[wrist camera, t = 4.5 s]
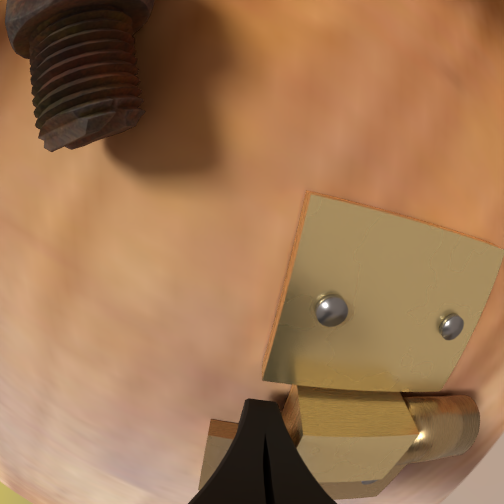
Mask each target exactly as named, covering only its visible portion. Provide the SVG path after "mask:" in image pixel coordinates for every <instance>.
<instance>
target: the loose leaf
mask: <svg viewBox="0 0 504 504" xmlns="http://www.w3.org/2000/svg"><path fill="white" fill-rule="evenodd" d="M503 256H504V249H502V248H501V247H499V246H497V245H495V244H493V243H490V242H487V241H484V240H482V239H479V238H476V237H473V236H470V235H467V234H464V233H461V232H458V231H454V230H451V229H448V228H445V227H442V226H439V225H435V224H432V223H429V222H425V221H422V220H419V219H415V218H412V217H408V216H405V215H401V214H398V213H394V212H391V211H387V210H383V209H380V208H376V207H372V206H368V205H365V204H361V203H357V202H353V201H349V200H345V199H341V198H337V197H333V196H328V195H324V194H320V193H316V192H311V191H307V190H306V194H305V199H304V203H303V207H302V212H301V216H300V220H299V224H298V229H297V233H296V237H295V241H294V245H293V249H292V254H291V258H290V262H289V266H288V270H287V274H286V278H285V282H284V286H283V289H282V293H281V297H280V301H279V305H278V309H277V313H276V316H275V320H274V324H273V328H272V331H271V335H270V339H269V342H268V346H267V350H266V353H265V357H264V360H263V364H262V380H263V381H270V382H277V383H285V384H292V387H291V390H290V392H289V395H288V398H287V400H286V403H285V405H284V408H283V410H282V413H281V416H282V418H283V421H284V423H285V426H286V428H287V430H288V433H289V435H290V437H291V439H292V441H293V443H294V445H295V447H296V449H297V451H298V452H299V454H300V456H301V458H302V459H303V461H304V463H305V464H306V466H307V467H308V469H309V470H310V472H311V473H312V475H313V476H314V478H315V479H316V480H317V482H354V481H369V480H380V479H383V478H384V477H385V476H386V474H387V473H388V472H389V471H390V470H391V469H392V468H393V466H394V465H395V464H396V463H397V462H398V461H399V459H400V458H401V457H402V456H403V455H404V453H405V452H406V451H407V450H408V449H409V447H410V446H411V445H412V443H413V442H414V441H415V440H416V438H417V437H418V436H419V431H418V429H417V427H416V425H415V423H414V421H413V419H412V417H411V414H410V412H409V410H408V408H407V406H406V404H405V402H404V400H403V398H402V396H401V394H400V392H438V391H441V389H442V388H443V386H444V384H445V383H446V381H447V379H448V378H449V376H450V374H451V373H452V371H453V369H454V367H455V365H456V364H457V362H458V360H459V358H460V356H461V354H462V353H463V351H464V349H465V347H466V345H467V343H468V341H469V339H470V337H471V335H472V333H473V331H474V329H475V327H476V324H477V322H478V320H479V318H480V316H481V313H482V311H483V309H484V307H485V304H486V302H487V299H488V297H489V294H490V292H491V289H492V287H493V284H494V282H495V279H496V276H497V274H498V271H499V268H500V265H501V262H502V259H503Z"/></svg>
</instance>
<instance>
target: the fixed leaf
mask: <svg viewBox="0 0 504 504" xmlns="http://www.w3.org/2000/svg"><path fill="white" fill-rule="evenodd" d="M402 398H403V400H404V402H405V404H406V406H407V408H408V410H409V412H410V414H411V417H412V419H413V421H414V423H415V425H416V427H417V429H418V431H419V436H418V437H417V438H416V440H415V441H414V442H413V443H412V445H411V446H410V447H409V449H408V450H407V451H406V452H405V453H404V455H403V456H402V457H401V458H400V459H399V461H398V462H397V463H396V464H395V465H394V466H393V468H392V469H391V470H390V471H389V472H388V473H387V474H386V476H385V477H384V478H383V479H380V480H369V481H354V482H318V483H319V484H320V485H321V487H322V488H323V489H324V490H325V492H326V493H327V494H328V495H329V496H330V497H331V498H332V499H333V500H336V499H353V498H364V497H374V496H377V495H378V494H379V493H380V492H381V491H382V490H383V489H384V488H385V487H386V486H387V485H388V484H389V483H390V482H391V481H392V480H393V479H394V478H395V477H396V476H397V475H398V474H399V472H400V471H401V470H402V469H403V468H404V467H405V466H406V465H407V464H411V463H418V462H425V461H431V460H437V459H442V458H448V457H453V456H457V455H461V454H463V453H465V452H466V451H467V450H468V449H469V448H470V447H471V446H472V445H473V443H474V442H475V440H476V437H477V435H478V431H479V426H480V415H479V410H478V407H477V405H476V403H475V402H474V400H473V399H472V398H470V397H469V396H466V395H455V396H432V397H402ZM238 425H239V424H236V423H230V422H224V421H218V420H213V419H211V421H210V426H209V432H208V437H207V443H206V449H205V454H204V460H203V465H202V471H201V476H200V482H199V488H198V490H201V489H202V487H203V486H204V485H205V484H206V482H207V481H208V480H209V478H210V477H211V476H212V474H213V473H214V472H215V470H216V469H217V467H218V466H219V464H220V463H221V461H222V459H223V458H224V456H225V454H226V453H227V451H228V449H229V447H230V445H231V443H232V441H233V439H234V437H235V435H236V433H237V429H238Z"/></svg>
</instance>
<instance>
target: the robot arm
mask: <svg viewBox="0 0 504 504" xmlns="http://www.w3.org/2000/svg"><path fill="white" fill-rule="evenodd" d="M188 504H337V503H336V502H335V501H334V500H333V499H332V498H331V497H330V496H329V495H328V494H327V493H326V492H325V490H324V489H323V488H322V487H321V485H320V484H319V483H318V482H317V480H316V479H315V478H314V476H313V475H312V473H311V472H310V470H309V469H308V467H307V466H306V464H305V463H304V461H303V459H302V458H301V456H300V454H299V452H298V451H297V449H296V447H295V445H294V443H293V441H292V439H291V437H290V435H289V433H288V430H287V428H286V426H285V423H284V421H283V418H282V416H281V413H280V410H279V407H278V404H277V403H276V402H271V401H263V400H256V399H246V400H245V403H244V407H243V410H242V414H241V418H240V421H239V425H238V429H237V433H236V435H235V437H234V439H233V441H232V443H231V445H230V447H229V449H228V451H227V453H226V454H225V456H224V458H223V459H222V461H221V463H220V464H219V466H218V467H217V469H216V470H215V472H214V473H213V474H212V476H211V477H210V478H209V480H208V481H207V482H206V484H205V485H204V486H203V487H202V489H201V490H200V491H199V492H198V493H197V494H196V495H195V497H194V498H193V499H192V500H191V501H190V502H189V503H188Z"/></svg>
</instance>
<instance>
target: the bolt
mask: <svg viewBox="0 0 504 504" xmlns="http://www.w3.org/2000/svg"><path fill="white" fill-rule="evenodd" d="M154 1H155V0H7V7H6V17H5V25H6V29H7V33H8V37H9V40H10V43H11V46H12V48H13V50H14V51H15V52H16V54H18V55H20V56H22V57H23V58H26V59H30V65H31V67H30V73H31V75H32V77H31V84H32V85H33V87H32V92H31V93H32V94H33V95H34V96H35V97H34V99H33V101H32V102H33V105H34V106H35V107H36V109H35V111H34V115H35V117H36V118H38V119H37V121H36V124H35V126H36V127H37V128H38V129H40V133H39V137H38V138H39V139H42V140H44V148H45V149H47V150H49V151H50V152H53V151H55V150H57V149H60V148H62V147H64V146H65V147H67V148H69V149H71V150H72V149H75V148H79V147H82V146H85V145H88V144H90V143H92V142H94V141H97V140H100V139H103V138H106V137H109V136H112V135H115V134H118V133H121V132H124V131H126V130H128V129H130V128H132V127H134V126H136V124H137V122H138V120H139V118H140V117H141V116H142V115H143V114H144V113H145V111H144V110H142V109H140V108H138V107H139V106H140V105H141V104H142V103H143V102H144V100H143V99H141V98H138V96H139V95H140V94H141V92H142V90H141V89H139V88H137V87H136V86H137V85H138V84H139V83H140V80H139V78H138V77H136V75H137V74H138V70H139V69H138V68H137V67H135V65H136V62H137V58H136V57H135V56H134V54H135V53H136V50H135V47H134V41H135V39H134V38H133V37H132V35H133V34H134V33H135V32H136V31H138V30H139V29H140V28H141V27H142V26H143V25H144V24H145V23H146V22H147V20H148V18H149V16H150V13H151V11H152V8H153V5H154Z"/></svg>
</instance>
